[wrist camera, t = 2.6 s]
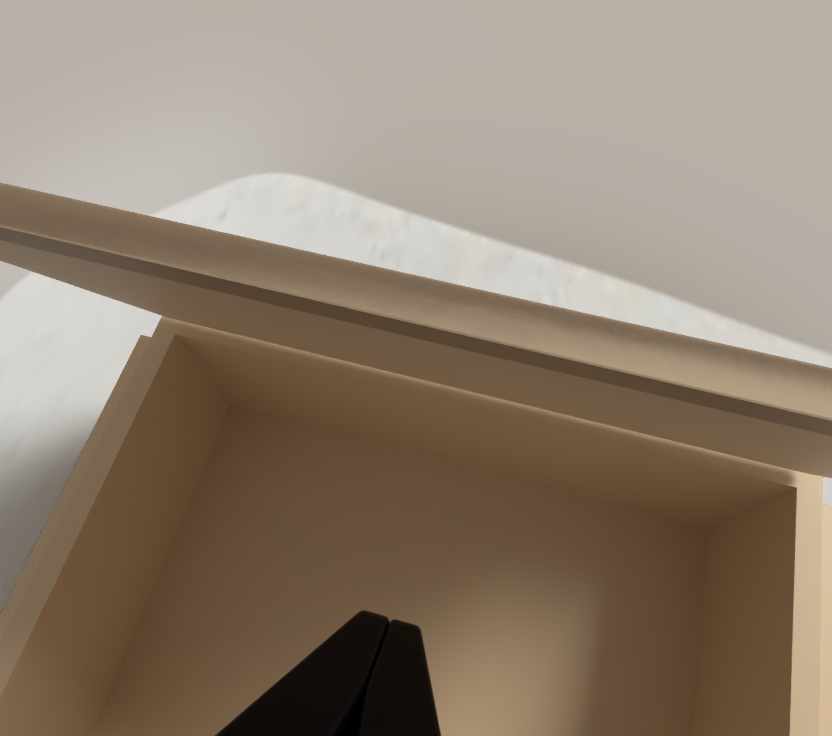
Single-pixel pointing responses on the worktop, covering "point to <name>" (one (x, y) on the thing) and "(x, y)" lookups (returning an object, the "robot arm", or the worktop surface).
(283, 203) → the worktop surface
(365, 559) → the carton
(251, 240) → the carton flap
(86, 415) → the worktop surface
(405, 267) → the worktop surface
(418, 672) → the robot arm
